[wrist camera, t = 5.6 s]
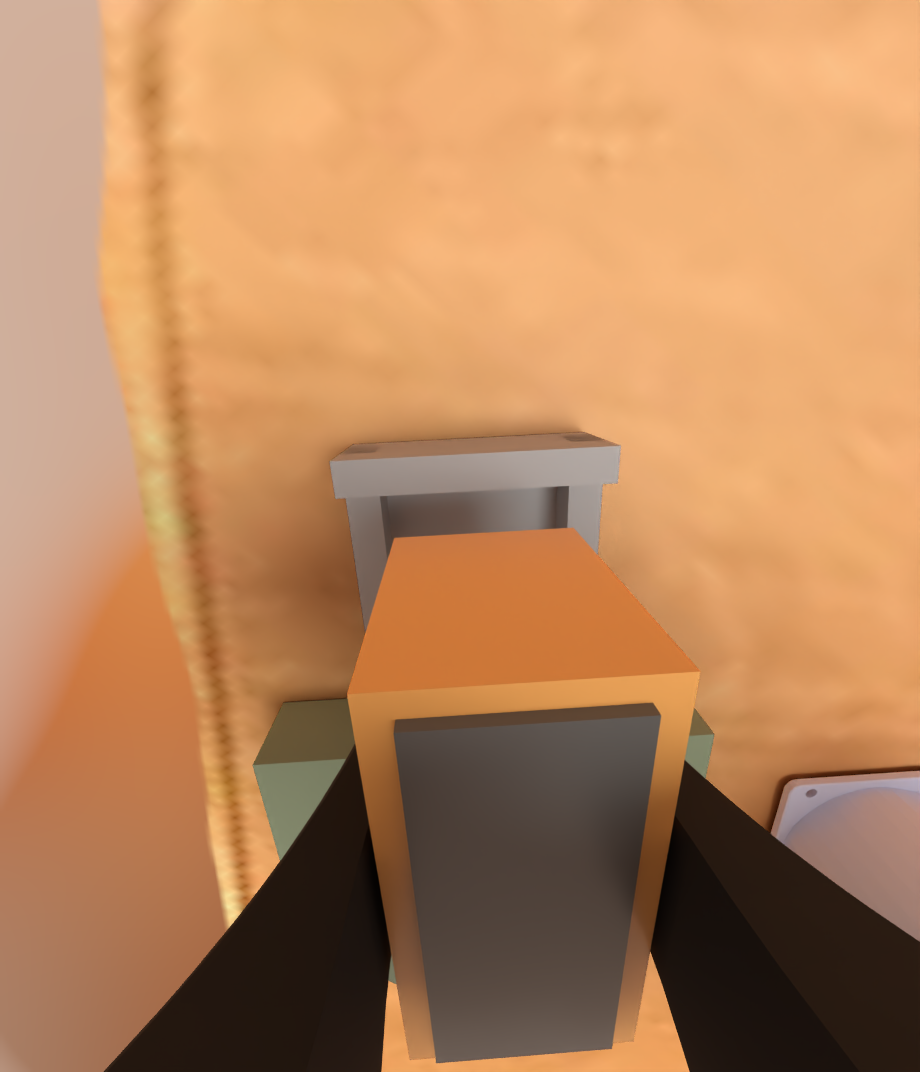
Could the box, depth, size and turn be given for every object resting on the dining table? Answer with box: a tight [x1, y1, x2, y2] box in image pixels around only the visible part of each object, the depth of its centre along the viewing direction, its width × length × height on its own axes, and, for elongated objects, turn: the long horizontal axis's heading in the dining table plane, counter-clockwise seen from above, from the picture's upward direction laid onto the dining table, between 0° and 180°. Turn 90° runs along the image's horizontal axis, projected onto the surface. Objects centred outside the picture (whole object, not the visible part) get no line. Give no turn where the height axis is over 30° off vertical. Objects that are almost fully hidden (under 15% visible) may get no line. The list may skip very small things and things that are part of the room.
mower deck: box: [253, 432, 714, 984], centre depth 15 cm, size 16×21×5 cm
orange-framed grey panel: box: [347, 528, 701, 1063], centre depth 8 cm, size 4×8×5 cm, turn 3°
